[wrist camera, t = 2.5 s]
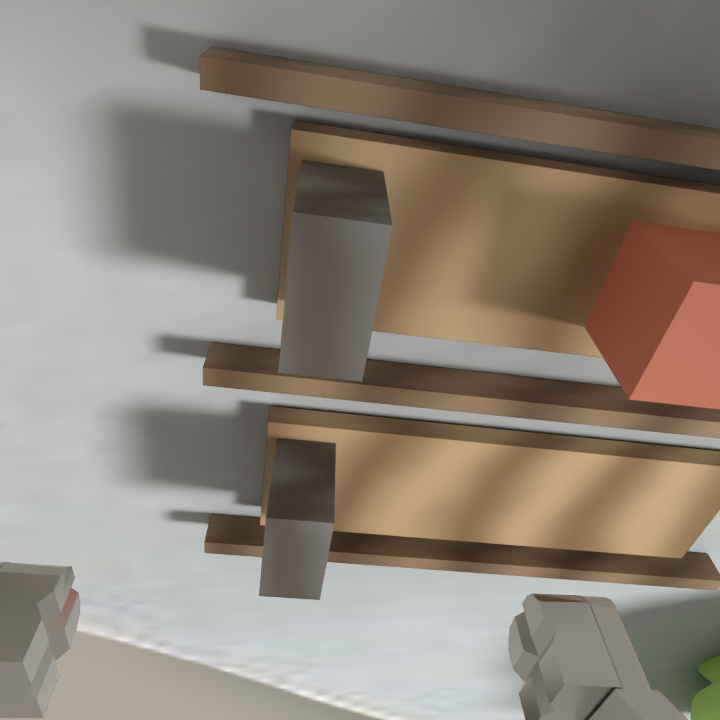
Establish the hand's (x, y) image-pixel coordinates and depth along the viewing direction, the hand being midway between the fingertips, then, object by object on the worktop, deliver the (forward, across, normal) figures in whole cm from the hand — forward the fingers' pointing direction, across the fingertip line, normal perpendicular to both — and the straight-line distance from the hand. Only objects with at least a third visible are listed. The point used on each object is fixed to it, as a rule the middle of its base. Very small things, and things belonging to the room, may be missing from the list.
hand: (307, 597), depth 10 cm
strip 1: (+16, -11, 0) cm, 20 cm away
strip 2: (+16, -11, +14) cm, 24 cm away
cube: (+15, -14, 0) cm, 21 cm away
